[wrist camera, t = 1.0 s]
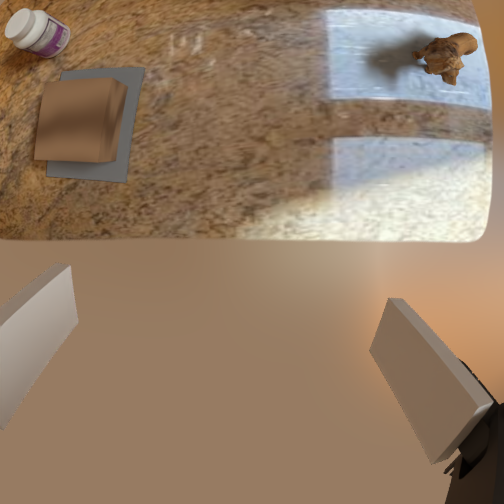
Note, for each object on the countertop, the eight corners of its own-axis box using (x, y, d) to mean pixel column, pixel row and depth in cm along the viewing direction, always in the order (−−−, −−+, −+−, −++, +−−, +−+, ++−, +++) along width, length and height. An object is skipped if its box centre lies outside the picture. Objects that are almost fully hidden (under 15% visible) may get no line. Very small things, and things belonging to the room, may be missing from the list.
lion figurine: (421, 96, 30) (464, 87, 22) (396, 64, 29) (435, 47, 20) (465, 50, 27) (503, 39, 19) (444, 22, 26) (480, 6, 17)
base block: (66, 88, 27) (45, 82, 22) (128, 86, 28) (111, 77, 23) (56, 157, 30) (33, 159, 25) (116, 160, 31) (97, 162, 26)
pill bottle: (37, 44, 24) (-3, 28, 15) (64, 18, 24) (28, -5, 15) (47, 66, 26) (5, 52, 17) (76, 40, 25) (38, 17, 16)
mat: (63, 72, 27) (61, 71, 26) (145, 68, 28) (144, 67, 27) (47, 176, 31) (46, 176, 30) (126, 182, 32) (125, 182, 32)
